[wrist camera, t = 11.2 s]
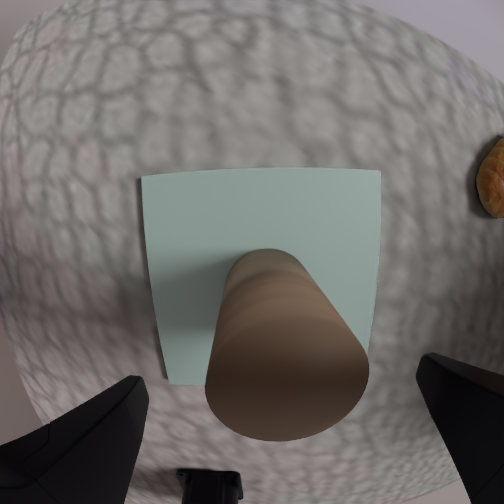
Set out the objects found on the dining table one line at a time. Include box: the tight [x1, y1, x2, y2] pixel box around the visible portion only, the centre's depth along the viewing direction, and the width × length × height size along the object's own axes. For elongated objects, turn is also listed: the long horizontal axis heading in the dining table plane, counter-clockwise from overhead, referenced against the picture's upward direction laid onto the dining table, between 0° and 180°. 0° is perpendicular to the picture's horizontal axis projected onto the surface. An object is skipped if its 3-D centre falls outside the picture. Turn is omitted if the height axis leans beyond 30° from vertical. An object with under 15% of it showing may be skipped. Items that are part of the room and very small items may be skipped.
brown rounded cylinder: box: [205, 248, 369, 441], centre depth 12 cm, size 5×5×9 cm
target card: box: [141, 168, 381, 385], centre depth 17 cm, size 14×14×1 cm
